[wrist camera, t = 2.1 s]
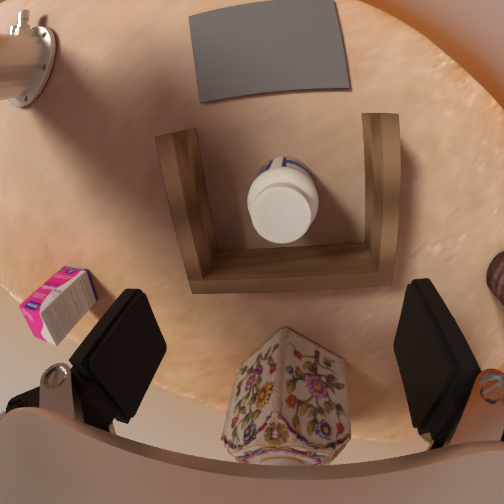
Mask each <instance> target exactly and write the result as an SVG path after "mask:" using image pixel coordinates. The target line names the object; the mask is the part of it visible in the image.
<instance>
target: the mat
mask: <svg viewBox="0 0 504 504" xmlns="http://www.w3.org/2000/svg"><path fill="white" fill-rule="evenodd" d="M189 23H190V31H191V39H192V47H193V54H194V61H195V69H196V76H197V82H198V89H199V96H200V103H205V102H210V101H215V100H220V99H226V98H232V97H238V96H245V95H252V94H260V93H268V92H278V91H289V90H304V89H328V88H350V87H349V80H348V73H347V66H346V60H345V54H344V48H343V43H342V38H341V33H340V28H339V23H338V18H337V14H336V10H335V6H334V2H333V0H272V1H263V2H255V3H249V4H242V5H236V6H231V7H226V8H221V9H216V10H212V11H208V12H204V13H200V14H196V15H192V16H189Z"/></svg>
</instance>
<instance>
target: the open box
mask: <svg viewBox="0 0 504 504" xmlns="http://www.w3.org/2000/svg"><path fill="white" fill-rule="evenodd" d="M362 123H363V137H364V155H365V240H364V243H355V244H337V245H319V246H300V247H282V248H264V249H247V250H229V251H218V246H217V241H216V236H215V231H214V226H213V221H212V216H211V211H210V205H209V200H208V195H207V189H206V184H205V178H204V173H203V167H202V161H201V156H200V150H199V144H198V138H197V132H196V129H192V130H186V131H180V132H174V133H170V134H165V135H161V136H157V137H155V140H156V145H157V150H158V156H159V161H160V166H161V171H162V175H163V180H164V185H165V189H166V194H167V198H168V203H169V207H170V211H171V216H172V220H173V224H174V228H175V232H176V236H177V240H178V244H179V248H180V251H181V255H182V259H183V263H184V266H185V270H186V273H187V277H188V280H189V284H190V287H191V291H192V294H218V293H262V292H290V291H311V290H330V289H346V288H361V287H374V286H387V285H392V278H393V271H394V264H395V256H396V247H397V237H398V225H399V210H400V184H401V152H400V128H399V114H392V113H362Z"/></svg>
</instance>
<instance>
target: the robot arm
mask: <svg viewBox="0 0 504 504" xmlns="http://www.w3.org/2000/svg"><path fill="white" fill-rule="evenodd" d="M29 13H30V11H29V10H23V11H21V12H20V13H19V14H18V19H17V26H12V27H11V28H10V33H9V34H0V100H4V99H8V101H9V102H10V104H11V105H13V106H14V107H24V106H27V105H29V104H30V103H32V102H33V101H34V100H35V99H36V98H37V97H38V95H39V94H40V93H41V91H42V90H43V88H44V86H45V84H46V82H47V80H48V78H49V75H50V73H51V70H52V66H53V63H54V58H55V49H56V43H55V37H54V34H53V32H52V30H51V29H49V28H48V27H44V26H37V27H34V28H32V29H30V25H28V21H29ZM166 348H167V346H166V342H165V340H164V338H163V336H162V333H161V331H160V329H159V326H158V324H157V321H156V319H155V317H154V314H153V312H152V309H151V307H150V304H149V301H148V299H147V296H146V294H145V293H143V292H142V291H141V290H140V289H125V290H124V291H123V292H122V294H121V295H120V296H119V297H118V298H117V299H116V301H115V302H114V303H113V304H112V305H111V307H110V308H109V309H108V310H107V312H106V313H105V314H104V315H103V316H102V318H101V319H100V320H99V321H98V323H97V324H96V325H95V326H94V328H93V329H92V330H91V332H90V333H89V334H88V335H87V337H86V338H85V339H84V341H83V342H82V343H81V344H80V346H79V347H78V348H77V350H76V351H75V352H74V354H73V355H72V356H71V358H70V359H69V361H70V362H71V364H72V365H73V367H72V368H71V369H70V368H69V366H68V365H67V364H64V363H57V364H54V365H52V366H51V367H49V368H48V369H47V370H46V371H45V372H44V373H43V375H42V377H41V380H40V386H39V387H37V388H35V389H32V390H30V391H27V392H25V393H22V394H20V395H17V396H16V397H14V398H12V399H11V400H10V401H9V402H8V405H7V408H6V412H3V413H1V414H0V504H504V373H503V372H502V371H500V370H497V369H486V370H484V371H482V372H481V370H480V367H479V365H478V363H477V361H476V359H475V357H474V355H473V353H472V351H471V349H470V347H469V345H468V343H467V341H466V339H465V337H464V335H463V334H462V332H461V330H460V328H459V326H458V324H457V323H456V321H455V319H454V317H453V316H452V315H451V313H450V311H449V310H448V308H447V306H446V305H445V303H444V301H443V300H442V298H441V296H440V295H439V293H438V292H437V290H436V288H435V287H434V285H433V284H432V282H431V281H430V279H429V278H423V279H414V280H412V282H411V284H408V285H407V288H406V292H405V297H404V302H403V307H402V311H401V316H400V320H399V324H398V328H397V332H396V336H395V340H394V352H395V356H396V359H397V363H398V366H399V370H400V373H401V377H402V381H403V385H404V389H405V393H406V397H407V401H408V406H409V410H410V415H411V420H412V424H413V427H414V428H418V433H419V435H422V434H426V433H430V434H431V439H432V442H431V443H430V445H429V447H428V449H427V450H426V451H424V452H420V453H415V454H411V455H406V456H400V457H395V458H389V459H383V460H375V461H368V462H360V463H351V464H339V465H322V466H277V465H259V464H247V463H237V462H229V461H221V460H215V459H208V458H203V457H197V456H192V455H187V454H182V453H177V452H173V451H169V450H165V449H161V448H157V447H153V446H150V445H146V444H143V443H139V442H136V441H133V440H130V439H127V438H124V437H120V436H118V435H116V433H115V429H114V426H113V422H112V421H113V419H114V418H115V419H116V420H117V421H120V422H123V423H126V424H128V423H129V420H130V418H132V417H134V416H135V414H136V412H137V409H138V408H139V406H140V403H141V401H142V399H143V397H144V395H145V393H146V391H147V389H148V387H149V385H150V383H151V381H152V379H153V377H154V375H155V373H156V371H157V369H158V367H159V365H160V363H161V361H162V359H163V357H164V355H165V353H166Z"/></svg>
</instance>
